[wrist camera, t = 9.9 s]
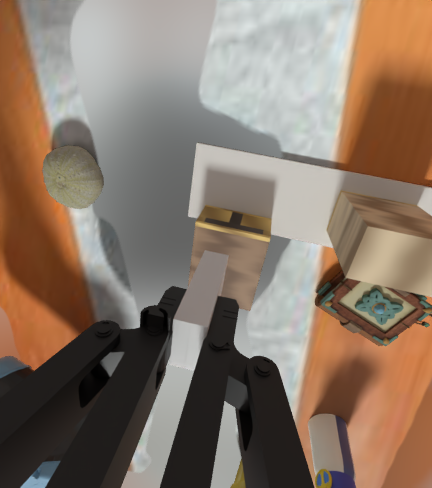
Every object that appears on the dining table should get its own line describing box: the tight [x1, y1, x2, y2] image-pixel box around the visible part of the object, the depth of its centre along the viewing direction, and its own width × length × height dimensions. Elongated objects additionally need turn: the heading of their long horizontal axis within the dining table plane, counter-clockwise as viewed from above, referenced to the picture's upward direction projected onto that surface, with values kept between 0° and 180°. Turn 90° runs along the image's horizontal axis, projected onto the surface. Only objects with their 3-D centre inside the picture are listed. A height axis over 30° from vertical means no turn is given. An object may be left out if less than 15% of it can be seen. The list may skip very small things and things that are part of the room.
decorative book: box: [315, 270, 432, 346], centre depth 44 cm, size 13×18×5 cm
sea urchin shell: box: [42, 145, 104, 209], centre depth 44 cm, size 9×8×8 cm
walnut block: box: [188, 205, 272, 311], centre depth 44 cm, size 10×6×13 cm
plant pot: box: [231, 459, 246, 488], centre depth 67 cm, size 10×10×10 cm
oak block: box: [327, 190, 432, 297], centre depth 35 cm, size 10×6×13 cm, turn 81°
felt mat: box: [188, 142, 432, 248], centre depth 42 cm, size 33×11×1 cm, turn 81°
